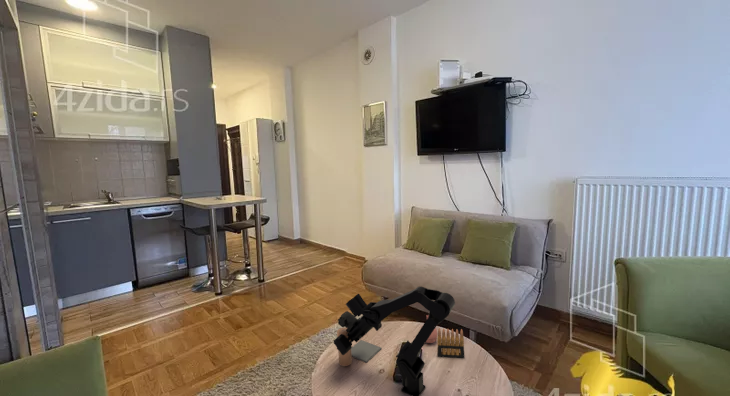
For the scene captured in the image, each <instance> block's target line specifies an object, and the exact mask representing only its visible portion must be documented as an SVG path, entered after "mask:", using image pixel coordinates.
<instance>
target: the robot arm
mask: <svg viewBox="0 0 730 396" xmlns="http://www.w3.org/2000/svg"><path fill="white" fill-rule="evenodd" d="M414 304H420V305H421V306H422V307H423V308H424V309H426V311H429V312H428V315H429V316H428V319H427V318H426V321H424V323H423V325H422V326H421V327H422V328H421V327H420V329H419V331H418V333H417V334H416V335H415V337H414V338H413V340H412V341H411V342H410V341H409V340H407V341H406V342H405V343H404V344H403V346H402V347H401V348H400V350H399V352H398V353H397V354H396V356H395V357H396V361H395V363H396V365H397V367H398V370H399V372H400V376H401V378H402V379H401V380H402V381H401V383H402V388H400V390H401V392H403V393H405V394H407V395H409V396H421V395H422V393H423V392H424V390H425V389H426V385H425V384H424V373H423V372H422V371H423V369H424V367H425V364H426V363H425V361H424V360H423V359H422V358H421V357H420V354H421V352H422V348H423V346H424V345H425V344H426V343H427V342H426V341H427V339H428V338H429V336H430V335H431V333H432V332H433V331H434V329H435V328H436V329H437V326H438V325H439V324H440V323H442V322H443V321H444V320H445V319H446V318H447V317H448V316H450V314H451V312H453V311H452V310H453V309H454V307H455V305H456V301H455V298H454V296H453V295H452V294H450V293H448V292H443V291H440V290H437V289H431V288H427V287H424V286H417V287H416V288H414V289H412V290H410V291H407V292H406V293H403V294H401V295H399V296H397V297H394V298H392V299H382V300H379V301H377V302H375V301H371V302H369V303H368V304H367V303H366V301H365V300H364V299H363V298H362V295H360V293H357V294H356V295H355V296H353V297H352V298H350V299H349V300H348V301H347V302H346V303H345V306H346V307H347V308H348V309H349V310H346V311H344V312H343V313H342V314H341V315H340V317H339V318H338V319H337V324H338V325H339V327H341V328H347V329H346V331H347V333H348V332H349V333H348V334H347V336H349V337H348V338H347V337H346V336H345V335H343V334H341V335H340V336H338V337H336V338H335V339H334V340H333V344H334V346H335V347H336V349H337V351H338V350H339V351H340V353H341V354H342V355H345V354H346V353H347V352H348V351H349V350H350V349H351V348H352V347H353V346H352V345H353V342H355V343H358V342H359V341H360V340H362V338H364V337H365V336H366V335H367V334H368V333H369V332H370V331H371V330H372V329H373V328H374V329H375V331H376V332H378V331H379V330H380V329H381V328H382V326H383V324H382V321H383V320H385V319H386V318H387V317H389V316H390V315H391V314H392V313H394V312H398V311H400V310H401V309H405V308H407V307H409V306H412V305H414ZM361 315H362V316H361ZM360 316H361V317H360ZM357 317H358V318H357ZM350 339H351V340H350ZM349 340H350V341H349Z"/></svg>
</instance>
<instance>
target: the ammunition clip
mask: <svg viewBox="0 0 730 396" xmlns="http://www.w3.org/2000/svg"><path fill="white" fill-rule="evenodd" d="M437 334H438V335H437V339H436V341H437V350H436V351H437V353H436V354H437V357H438V358H449V359H462V360H463V359H465V357H466V355H465V341H464V331H463V329H462V328H461V329H460V331H459V330H458V328H456V330H455V331H454V329H453V328H452V329H451V331H450V330H449V328H447V329H446V330H445V328H443V329H442V330H441V329H440V327H438V329H437Z"/></svg>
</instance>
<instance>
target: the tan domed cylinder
mask: <svg viewBox="0 0 730 396" xmlns="http://www.w3.org/2000/svg"><path fill="white" fill-rule="evenodd" d="M346 329H347V328H346V327H341V328H338V329H337V330H336V331H337V335H336V336H337V337H338V336H340V335H341V334H343V335H345V336H346V337H347V338H348V337H349V336H347V334H348V333H349V332H348V333H347V331H346ZM337 337H336V338H337ZM350 340H351V339H350ZM350 340H349V341H350ZM337 351H338V352H337V354H338V364H339V365H340V366H342V367H348V366H349V365H352V364H353V357H352V354H351V349H350V350H349V351H348V352H347V353H346V354H345V355H342V354H341V353H340V351H339V350H338V349H337Z"/></svg>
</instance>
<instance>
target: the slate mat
mask: <svg viewBox="0 0 730 396" xmlns="http://www.w3.org/2000/svg"><path fill="white" fill-rule="evenodd" d="M381 351H382V347H381V346H378V345H375V344H373V343H370V342H368V341H366V340H362V339H360V340H359V341H358V342H356V343H355V344H354V345H353V346H352V348H351V354H352V358H354V359H357V360H358V361H361V362H364V363H365V364H367V363H368V362H369V361H370V360H371V359H372V358H374V357H375V356H376V355H377V354H378V353H379V352H381Z"/></svg>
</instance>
